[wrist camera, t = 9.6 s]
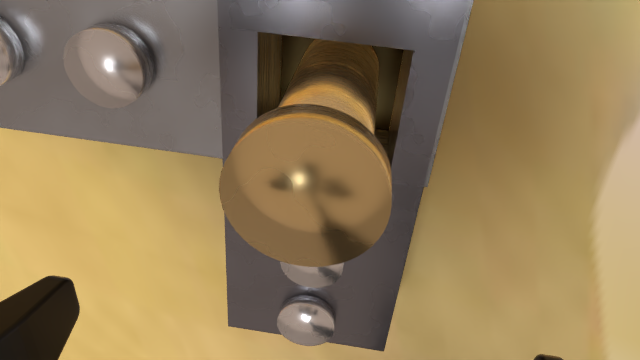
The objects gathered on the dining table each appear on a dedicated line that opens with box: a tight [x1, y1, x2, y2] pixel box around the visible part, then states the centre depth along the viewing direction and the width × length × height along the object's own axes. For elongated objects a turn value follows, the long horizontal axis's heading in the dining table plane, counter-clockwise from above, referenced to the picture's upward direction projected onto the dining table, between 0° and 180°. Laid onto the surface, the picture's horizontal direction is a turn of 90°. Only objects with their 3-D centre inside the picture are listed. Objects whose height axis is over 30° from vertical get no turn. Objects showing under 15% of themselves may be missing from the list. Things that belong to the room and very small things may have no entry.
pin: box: [219, 39, 392, 267], centre depth 15 cm, size 4×4×9 cm
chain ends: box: [0, 0, 474, 351], centre depth 19 cm, size 15×20×5 cm
